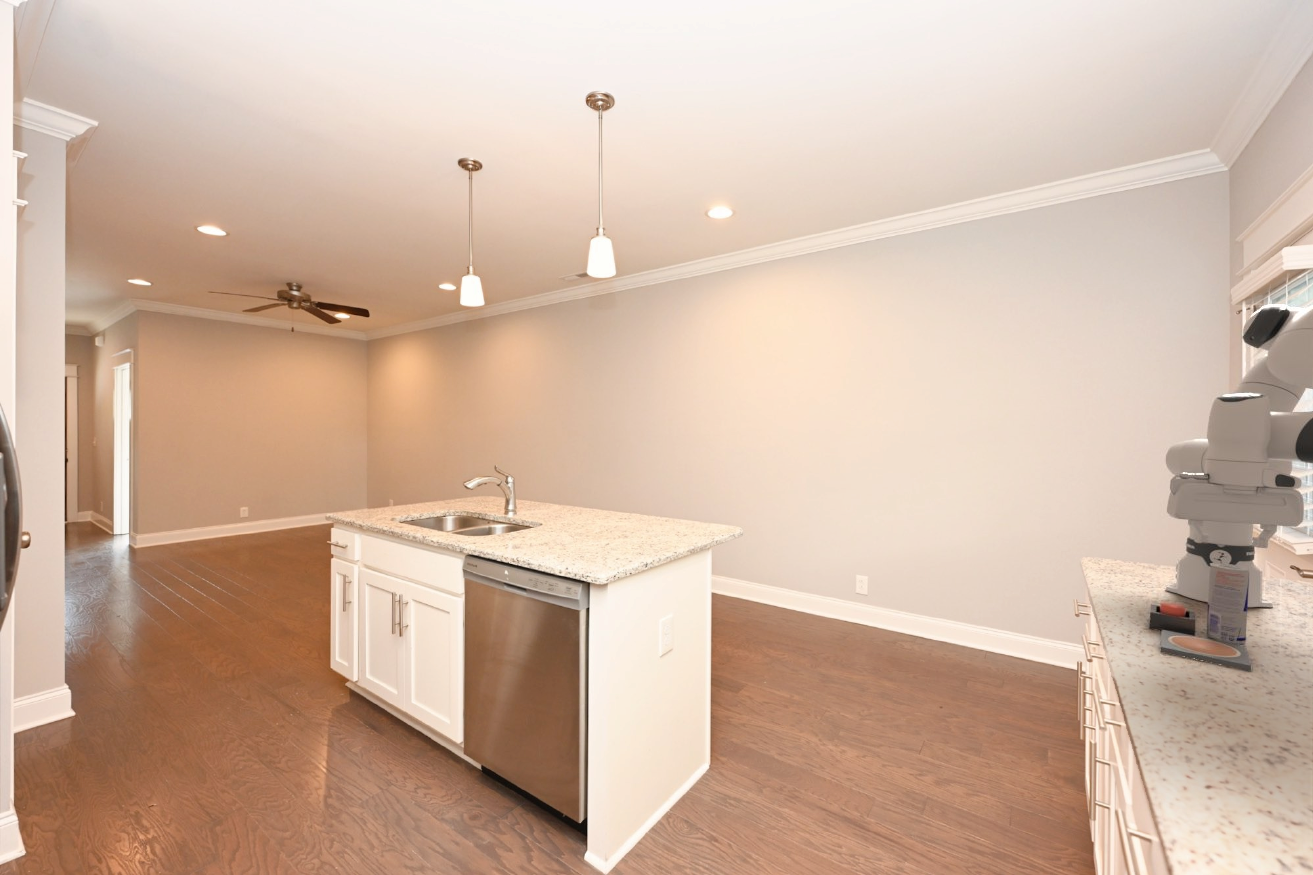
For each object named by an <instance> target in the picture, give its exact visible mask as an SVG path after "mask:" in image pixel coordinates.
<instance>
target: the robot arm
mask: <svg viewBox="0 0 1313 875" xmlns="http://www.w3.org/2000/svg"><path fill="white" fill-rule="evenodd" d="M1242 334H1243V335H1242V339H1243V342H1244V343H1245V344H1246V345H1249V346H1250V347H1253V348H1256V349H1263V350H1264V351H1267V353H1266V354H1265V355H1263V356H1262V357H1261V358H1260V359H1258V360H1257V362H1255V363H1254V365H1253V366H1252V367H1251V368H1250V369H1249V370H1248V371H1247V373H1246V374H1245V375H1244V376H1243V377H1242V379H1241V381H1240V382H1239V383H1238V385H1237V387H1236V388H1235V389H1234V392H1233V393H1228V394H1227V393H1226V394H1223V395H1219V396H1218V397H1216V398H1215V399H1214V400H1213V402H1212V406H1211V409H1210V412H1209V417H1208V422H1207V429H1206V430H1207V432H1206V438H1195V439H1188V440H1183V441H1179V442H1176V443H1174V444H1172V445H1171V446H1170V448H1168V451H1167V452H1166V455H1165V464H1166V467H1167V469H1168V471H1169V472H1170V473H1171V474H1172V475H1174V476H1173V477H1172V478H1171V479H1170V482H1169V484H1170V485H1169V490H1170V493H1169V496H1168V499H1167V500H1168V501H1167V505H1166V506H1167V507H1166V513H1167V514H1168V515H1169V516H1170V518H1173V519H1177V520H1187V526H1189V536H1188V537H1187V538H1186V543H1185V546H1186V548H1185V549H1186V550H1185V551H1186V552H1187V553H1186V554H1185V555H1184V556H1182V557H1181V558H1180V559H1178V560H1177V562H1176V565H1175V572H1176V574H1175V580H1174V581H1173V582H1171V583H1169V584H1168V585H1166V587H1165V590H1166V591H1167V592H1170V593H1175V594H1177V595H1181V596H1182V597H1183V596H1184V597H1186V598H1190V599H1194V600H1195V601H1201V602H1205V603H1208V591H1209V572H1210V567H1211V566H1210V564H1211V563H1224V564H1232V565H1238V566H1242V567H1246V568H1248V569H1249V571H1248V572H1249V589H1248V607H1247V608H1258V607H1259V608H1273V607H1274V605H1273V604H1274V603H1273V602H1272V601H1271V600H1269V599H1268V598H1266V597H1265V596H1263V570H1261V568H1259V567H1258V566H1257V565H1256V564H1255V563H1254V562H1253V561H1254V560H1255V555H1256V550H1255V548H1261V549H1267V548H1268V547H1269V540H1270V539H1271V538H1272V537H1273V536H1274V535H1275V534H1276V533H1277V530H1278V526H1279V527H1290V528H1291V527H1292V528H1293V527H1294V528H1296V527H1298V526H1300V525H1301V524H1302V523H1303V522H1304V515H1305V512H1304V511H1305V509H1304V508H1305V506H1304V498H1303V494H1302V493H1301V492H1300V491H1299V489H1300V488H1301V487H1302V484H1303V483H1302V479H1301V478H1300V477H1297V476H1295V475H1291V473H1292V470H1293V462H1300V463H1301V462H1303V463H1306V464H1307V463H1308V464H1313V411H1312V410H1311V411H1310V410H1309V411H1295V408H1296V407H1297V405H1298V403H1299V401H1300V400H1301V398H1302V397H1303V396H1304V393H1305V392H1306V389H1309V390H1311V389H1312V390H1313V305H1311V306H1309V307H1306V308H1301V307H1293V306H1292V307H1290V306H1288V305H1287V304H1278V303H1277V304H1276V303H1275V304H1271V303H1270V304H1267V305H1263V306H1261V307H1260V308H1259V309H1258V310H1256V311H1255V312H1253V313H1252V314H1251V315H1250V316H1249V317H1248V318H1247V320H1246V321H1245V324H1244V326H1243V329H1242ZM1254 525H1259V529H1260V530H1262V531H1261V532H1260V534H1259V535H1258V536H1257V537H1256V536H1254V535H1253V534H1254Z"/></svg>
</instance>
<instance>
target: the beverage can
mask: <svg viewBox="0 0 1313 875" xmlns="http://www.w3.org/2000/svg"><path fill="white" fill-rule="evenodd" d="M1210 566H1211V567H1210V572H1209V591H1208V602H1207V612H1206V613H1207V615H1206V632H1205V633H1206V635H1207V637H1208V638H1209V639H1213V640H1218V641H1223V642H1229V643H1234V644H1239V645H1243V644H1245V643H1246V642H1247V640H1246V639H1247V625H1248V624H1247V623H1248V608H1249V607H1248V589H1249V572H1248V571H1249V569H1248V568H1246V567H1242V566H1238V565H1232V564H1224V563H1211V564H1210Z"/></svg>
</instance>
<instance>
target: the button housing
mask: <svg viewBox="0 0 1313 875" xmlns="http://www.w3.org/2000/svg"><path fill="white" fill-rule="evenodd" d="M1196 621H1197V618H1196V611H1193V610H1187V609H1186V615H1185V617H1181V616H1175V615H1169V614H1164V613H1160V605H1157V604H1153V603H1152V604H1151V605H1150V611H1149V629H1151V630H1154V629H1157V630H1156V631H1159V630H1160V631H1159V632H1162V630H1167V631H1172V632H1177V633H1182V634H1187V635H1193V636H1196V624H1197V623H1196Z"/></svg>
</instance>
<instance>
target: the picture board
mask: <svg viewBox="0 0 1313 875" xmlns="http://www.w3.org/2000/svg"><path fill="white" fill-rule="evenodd" d="M1160 635H1161V637H1160V648H1159V649H1160V650H1159V652H1160V653H1164V654H1170V655H1172V654H1174V655H1173V656H1177V655H1178V656H1179V657H1182V656H1185V657H1184V658H1186V657H1188V658H1187V659H1191V658H1195V659H1194V660H1196V659H1197V661H1200V660H1203V661H1202V662H1205V661H1207V662H1206V663H1210V662H1212V663H1211V664H1215V665H1219V664H1221V665H1220V666H1225V667H1230V668H1234V669H1238V670H1242V669H1243V670H1244V671H1248V672H1252V663H1251V660H1250V656H1249V653H1248V650H1247V646H1246V645H1243V644H1234V643H1229V642H1223V641H1218V640H1214V639H1212V638H1209V637H1201V636H1196V635H1195V636H1193V635H1187V634H1182V633H1177V632H1172V631H1167V630H1162V631H1161V634H1160Z"/></svg>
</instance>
